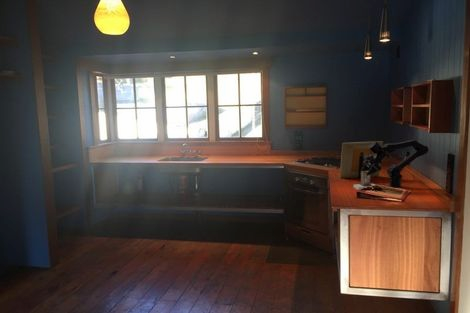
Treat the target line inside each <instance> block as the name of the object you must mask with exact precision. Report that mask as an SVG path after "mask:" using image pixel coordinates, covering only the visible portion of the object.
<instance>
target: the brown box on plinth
mask: <svg viewBox="0 0 470 313" xmlns="http://www.w3.org/2000/svg"><path fill="white" fill-rule="evenodd" d="M367 173H368V171H361V179H360V183H359V184H360V185H361V186H372V185H371V184H372V182H371V174H370V175H368V176H367V175H366V174H367Z"/></svg>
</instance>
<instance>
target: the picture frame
mask: <svg viewBox="0 0 470 313" xmlns="http://www.w3.org/2000/svg"><path fill="white" fill-rule="evenodd" d="M374 142H377V143H378V144H379V145H380V146H383V145H384V141H383V140H382V141H379V140H378V141H377V140H376V141H357V142H355V141H353V142H342V145H341V155H340V157H341V158H340V166H339V167H340V171H339V178H340V179H345V178H349V179H350V178H358V180H361V171H362V169H363V161H365V160H366V159H364V156H365V155H369V156H370V155H373V156H376V154H374V153H373V152H372V151H371V150H370V149H369V146H370V145H371V144H372V143H374ZM366 161H369V160H366ZM379 166H380V167H381V163H380V164H379ZM369 170H370V169H369ZM369 170H368V171H369ZM379 176H380V171H378V172H375V173H373V174H371V177H372V178H373V177H379Z"/></svg>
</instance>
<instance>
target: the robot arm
mask: <svg viewBox="0 0 470 313" xmlns="http://www.w3.org/2000/svg"><path fill="white" fill-rule="evenodd" d="M373 142H374V143H372V144H371V145H370V146H369V149H370V150H371V151H372V152H373V153H374V154H376V156H373V155H370V156H369V155H365V156H364V159H366V160H369V161H366V160H365V161H363V169H362V171H368V170H369V169H370V170H369V171H368V173H367V174H366V175H367V176H368V175H370V174H373V173H375V172H378V171H379V172H381V171H382V166H381V164H382V163H383V160H384V159H385V158H389V159H390V153H392V152H396V151H397V150H401V149H404V148H409V147H412V148H413V152H412V153H410V154H409V155H407V157H405V158H403V159H402V160H401V161H400V162H399V163H398V164H391V165H390V166H388V168H387V169H386V173H387V175H388V177H389V185H388V186H389V187H392V188H402V187H403V186H402V185H401V184H402V179H403V175H402V174H401V172H402V171H403V169H404V168H406V167H407V166H408V165H409V164H411V163H412V162H413V161H415V160H416V159H417V158H419V157H422V156H424V155H427V154H428V153H429V147H428V146H426V145H424V144H422V143H420V142H419V141H417V140H415V139H410V140H408V141H407V140H406V141H402V142H401V141H400V142H397V143H385V144H384V143H383V146H380V145H379V144H378V143H377V142H376V141H373ZM379 164H380V166H379Z"/></svg>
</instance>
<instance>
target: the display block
mask: <svg viewBox="0 0 470 313" xmlns="http://www.w3.org/2000/svg"><path fill="white" fill-rule="evenodd" d="M360 184H361V183H359V184H353V188H354V189H356V190H357V191H362V190H361V189H363V188H367V187H370V186H361V185H360ZM371 185H372V186H374V185H375V184H374V183H371Z"/></svg>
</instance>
